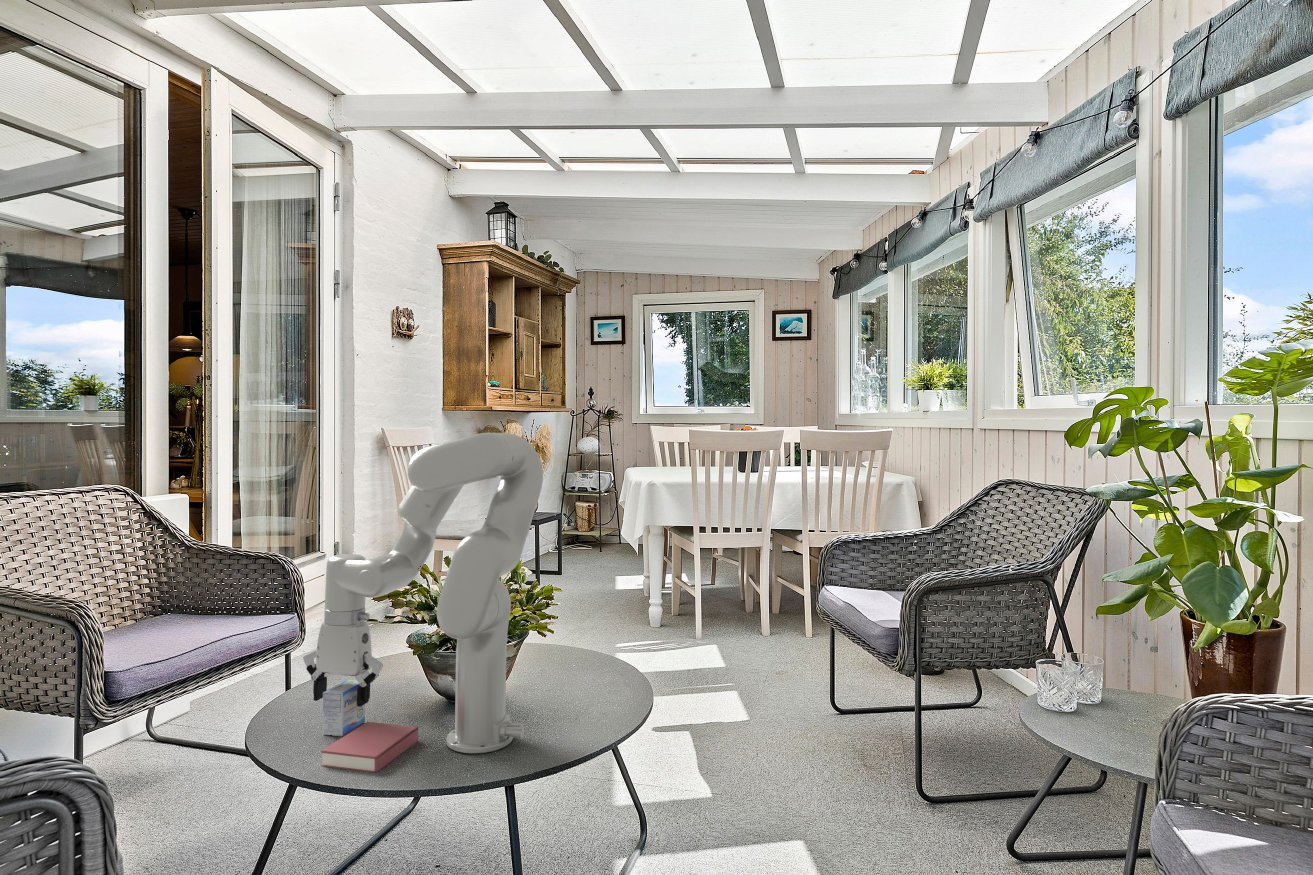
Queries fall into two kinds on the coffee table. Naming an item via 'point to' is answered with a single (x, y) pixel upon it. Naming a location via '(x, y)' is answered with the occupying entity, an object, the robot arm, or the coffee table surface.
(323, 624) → the robot arm
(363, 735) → the book
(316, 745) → the coffee table surface
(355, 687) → the medicine box
